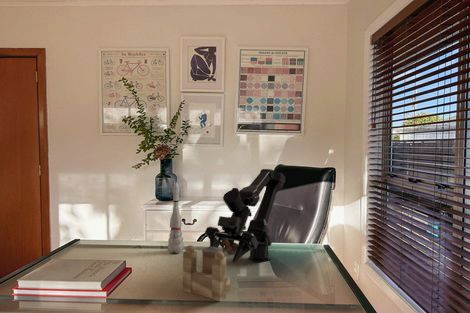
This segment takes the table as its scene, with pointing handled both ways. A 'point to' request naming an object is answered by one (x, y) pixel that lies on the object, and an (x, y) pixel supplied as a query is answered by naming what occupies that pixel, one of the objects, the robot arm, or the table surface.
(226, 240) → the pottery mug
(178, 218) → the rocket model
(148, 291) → the table surface
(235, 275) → the table surface
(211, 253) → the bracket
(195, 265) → the wooden block tower
